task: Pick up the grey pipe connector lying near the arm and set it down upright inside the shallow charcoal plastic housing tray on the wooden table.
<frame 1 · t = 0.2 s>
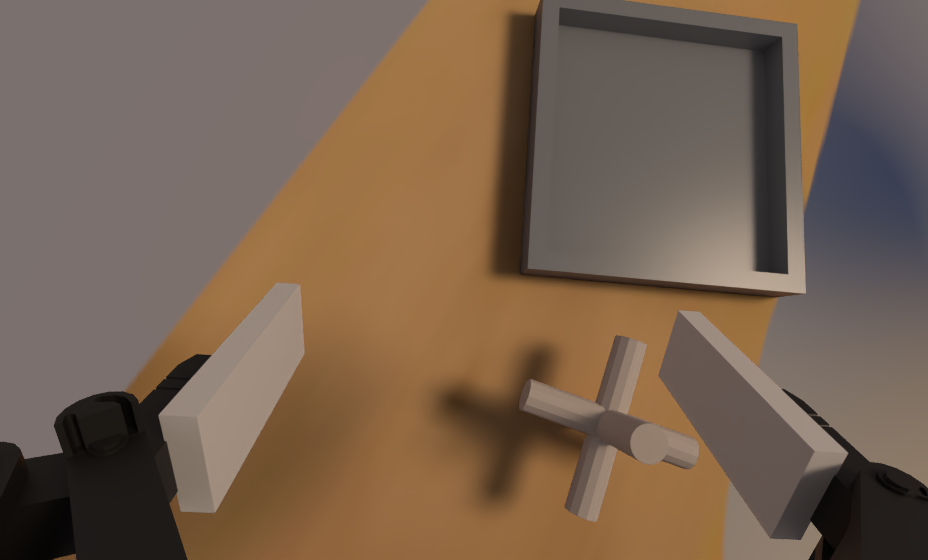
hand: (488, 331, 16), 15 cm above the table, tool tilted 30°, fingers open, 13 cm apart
housing tray: (653, 152, 34), on the table
pipe connector: (576, 410, 31), on the table
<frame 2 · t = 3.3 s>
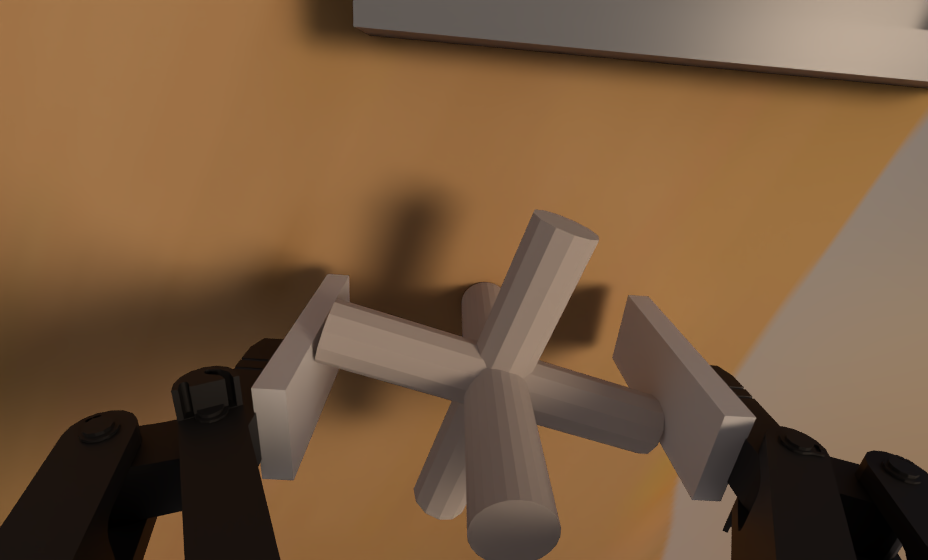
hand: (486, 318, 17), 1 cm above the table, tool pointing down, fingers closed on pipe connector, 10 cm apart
pipe connector: (484, 300, 18), on the table, touching gripper
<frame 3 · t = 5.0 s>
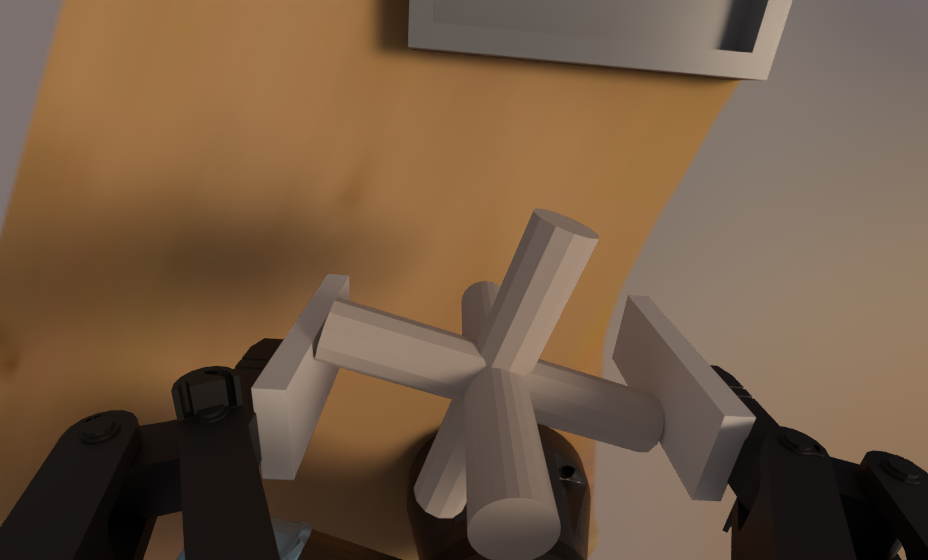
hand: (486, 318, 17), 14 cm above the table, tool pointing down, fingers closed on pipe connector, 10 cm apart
pipe connector: (484, 300, 18), point 12 cm above the table, touching gripper
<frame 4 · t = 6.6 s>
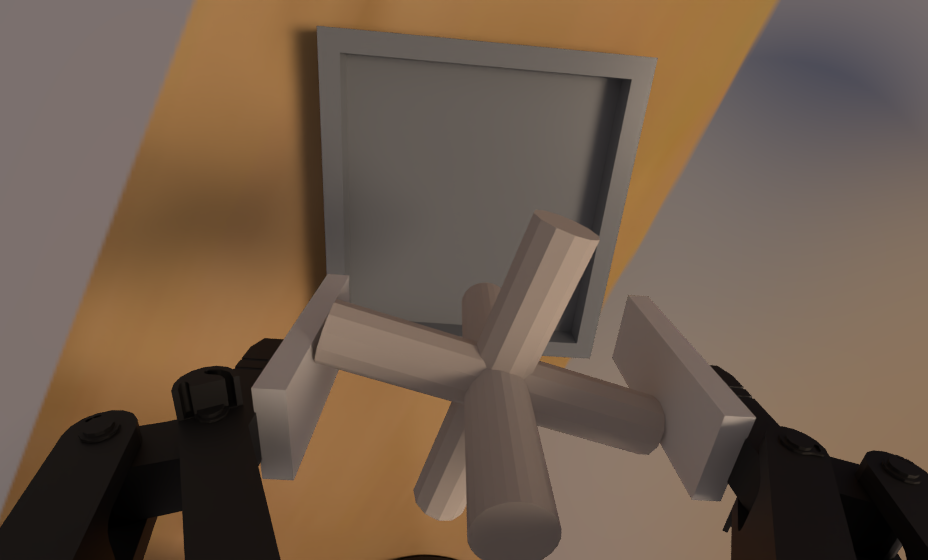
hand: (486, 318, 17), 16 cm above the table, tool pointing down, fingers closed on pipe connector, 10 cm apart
housing tray: (472, 207, 31), on the table
pipe connector: (484, 301, 18), point 15 cm above the table, touching gripper
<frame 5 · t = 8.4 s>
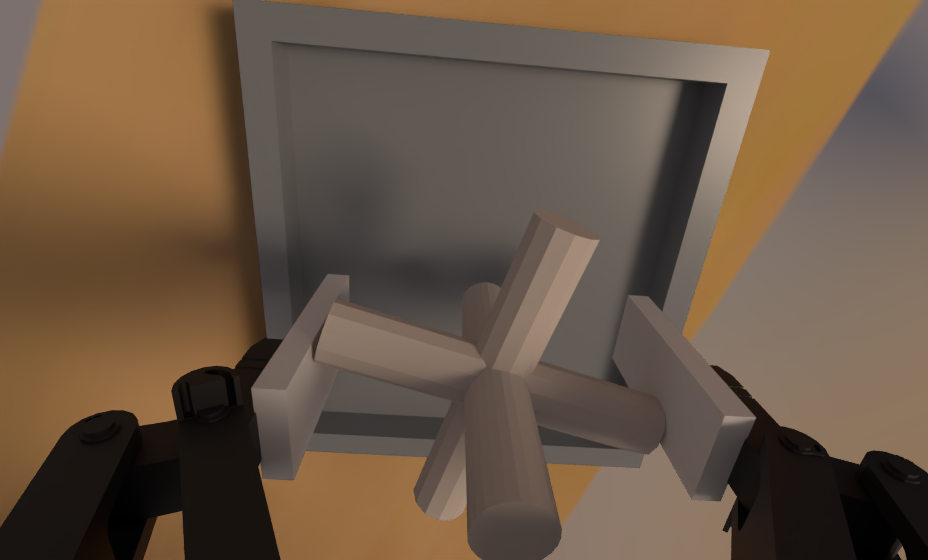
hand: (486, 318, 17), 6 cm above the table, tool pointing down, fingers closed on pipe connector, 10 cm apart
housing tray: (478, 264, 22), on the table
pipe connector: (484, 300, 18), point 4 cm above the table, touching gripper
when the fingers open (4 cm above the table, at t = 9.8 s): pipe connector drops 2 cm, resting on housing tray.
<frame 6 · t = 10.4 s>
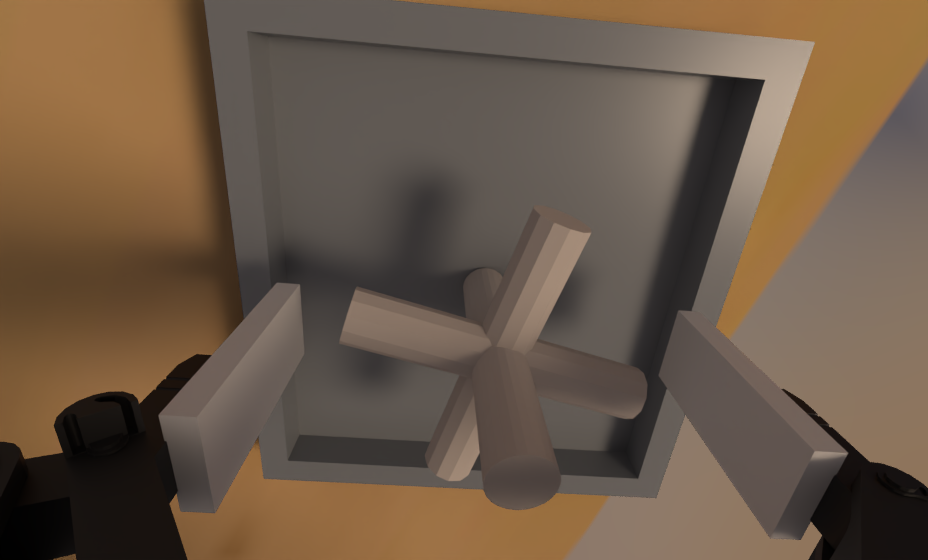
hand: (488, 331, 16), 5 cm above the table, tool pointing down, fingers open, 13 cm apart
housing tray: (481, 278, 20), on the table
pipe connector: (483, 285, 20), point 1 cm above the table, touching housing tray
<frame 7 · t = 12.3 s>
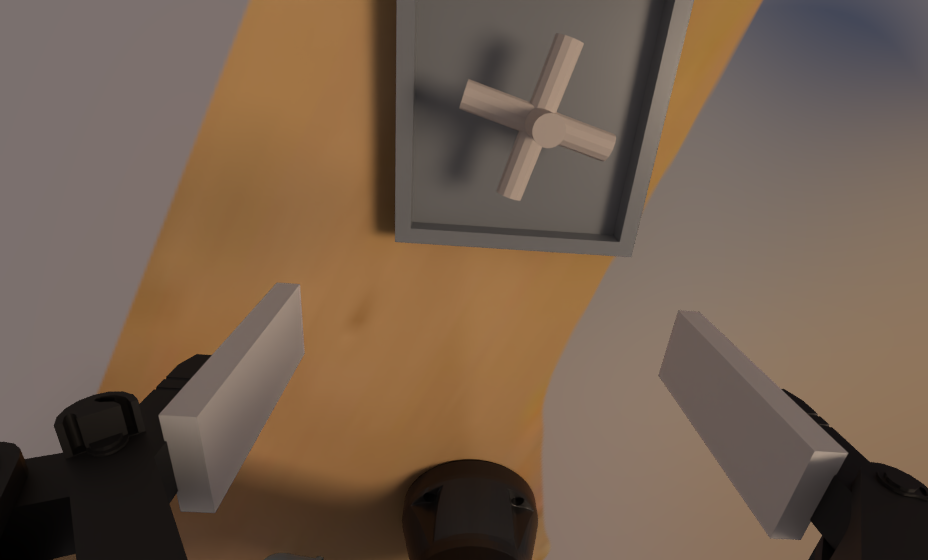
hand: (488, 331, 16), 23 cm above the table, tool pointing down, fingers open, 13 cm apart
housing tray: (526, 114, 34), on the table
pipe connector: (528, 115, 34), point 1 cm above the table, touching housing tray
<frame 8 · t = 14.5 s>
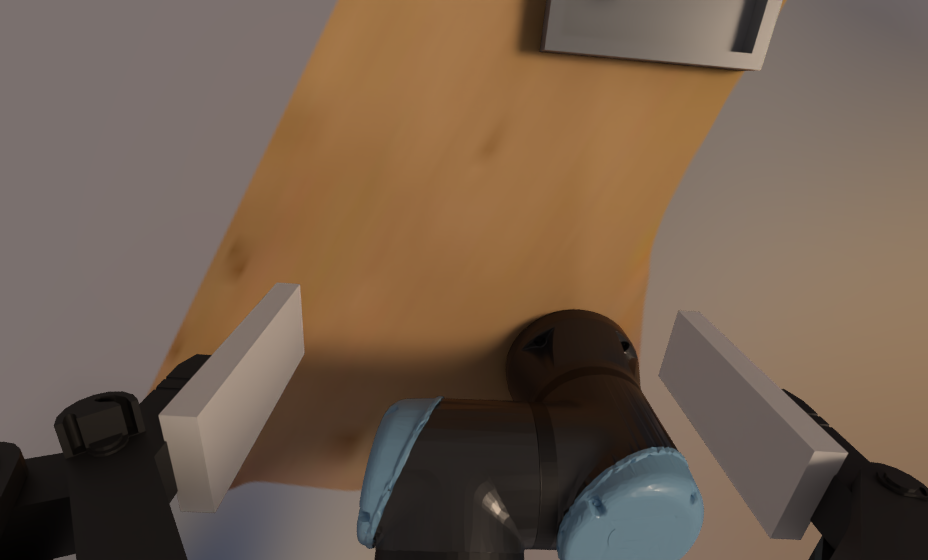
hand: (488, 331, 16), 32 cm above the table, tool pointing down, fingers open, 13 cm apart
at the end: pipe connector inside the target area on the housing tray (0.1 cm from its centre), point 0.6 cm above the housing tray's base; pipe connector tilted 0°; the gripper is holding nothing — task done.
